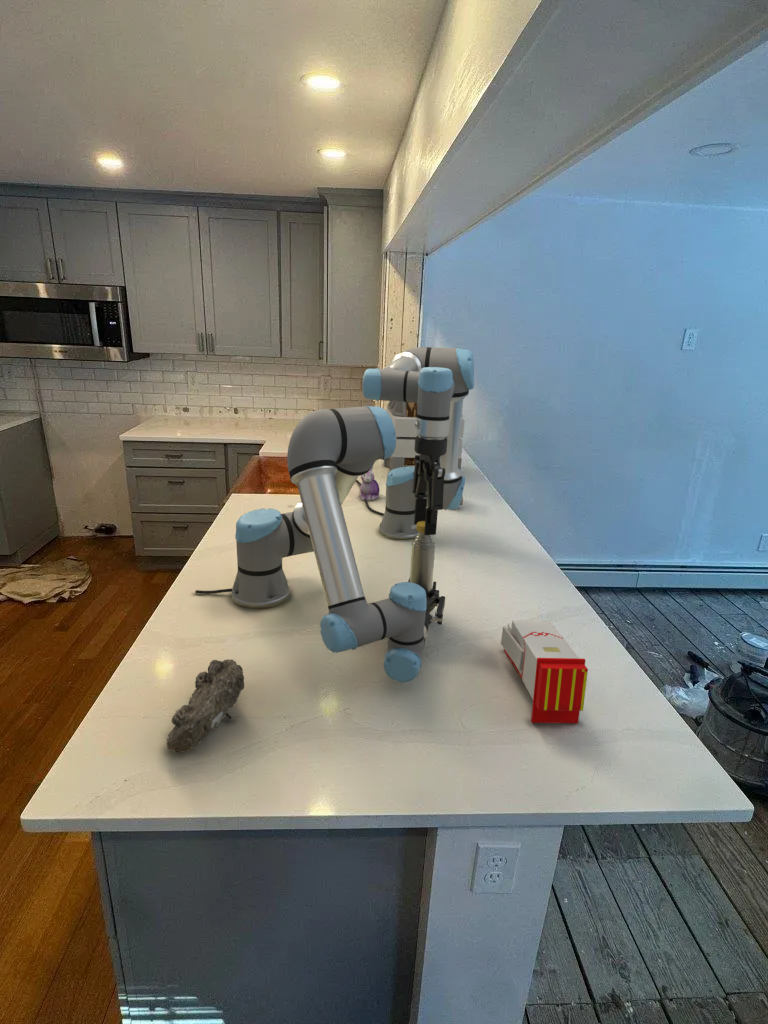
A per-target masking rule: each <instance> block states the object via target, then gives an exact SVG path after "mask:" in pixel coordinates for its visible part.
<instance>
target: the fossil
mask: <svg viewBox="0 0 768 1024" xmlns="http://www.w3.org/2000/svg"><path fill="white" fill-rule="evenodd" d="M243 670H244V669H243V667H242V665H240V664H237V662H236V661H235V660H234V659H232V658H231V659H227V658H226V659H224V660H223V661H222V660H217V659H212V660H211V661H210V663H209V665H208V666H207V671H201V672H199V673H198V674H197V675H196V676H195V680H194V684H195V685H194V687H195V689H194V690H193V693H192V694H191V697H190V698H189V700H188V704H184V705H182V706H181V707H180V709H177V710H176V711H175V713H174V715H173V716H172V718H171V723H172V724H173V727H172V730H171V731H170V732H168V734H167V738H166V741H167V742H166V745H167V749H168V750H169V751H173V752H174V753H176V754H178V753H182V752H188V751H189V752H192V751H193V750H195V748H196V747H197V746H199V744H200V743H201V742H203V741H204V740H205V739H206V738H207V737H208V736H209V735H210V734H211V733H212V732H214V730H215V729H217V727H218V726H219V724H220V722H221V721H222V720H223V719H224V718H225V716H226V717H227V719H229V720H233V717H232V715H230V714H229V710H230V709H231V708H234V706H235V704H236V703H237V702H238V699H239V697H240V695H241V693H242V691H243V690H245V689H244V688H245V675H244V671H243Z"/></svg>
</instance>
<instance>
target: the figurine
mask: <svg viewBox="0 0 768 1024" xmlns="http://www.w3.org/2000/svg"><path fill="white" fill-rule="evenodd" d="M373 469H374V465H373V466H372V468H371V469H370V471H369V472H368V473H366V474H364V475H362V476H360V479H361V482H360V483H361V486H360V485H359V486H360V487H359V491H360V494H359V498H360V500H361V501H365V500H364V499H365V498H366V499H367V502H369V501H374V500H377V499H379V497H380V491H381V490H380V485H379V483H378V481H377V480H376V479H375V474H374V472H373Z"/></svg>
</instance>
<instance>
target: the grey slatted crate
mask: <svg viewBox="0 0 768 1024" xmlns="http://www.w3.org/2000/svg"><path fill="white" fill-rule="evenodd" d="M417 404H418V403H411V402H399V401H388V404H387V405H386V411H387V412H388V414H389V415H390V417H391V419H392V421H393V424H394V428H395V435H396V446H395V450H394V453H393V454H392V456H391V457H389V458H386V459H385V460H383V466H384V467H388V468H389V472H390V471H391V470H393V469H396V468H400V467H405V466H406V467H415V455H420V454H417V453H416V452H415V450H414V448H415V437H416V436H418V435H417V434H416V426H415V425H414V423H416V419H417ZM464 429H465V419H464V418H462V419H461V432H460V444H459V456H458V468H459V469H460V470H461V471H462V461H463V460H462V453H463V442H464V441H463V440H462V439H463V438H464V431H465V430H464Z"/></svg>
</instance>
